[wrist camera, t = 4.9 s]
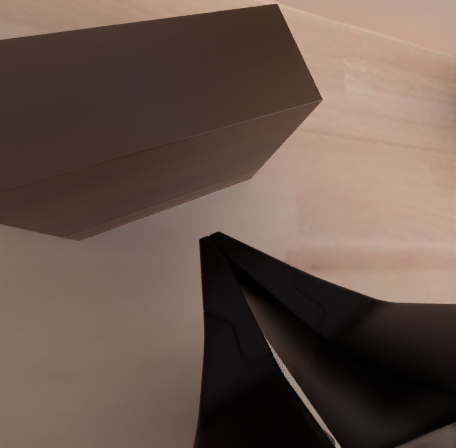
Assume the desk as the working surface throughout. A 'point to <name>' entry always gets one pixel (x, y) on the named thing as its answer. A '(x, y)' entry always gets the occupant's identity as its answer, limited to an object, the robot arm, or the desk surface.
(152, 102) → the walnut bookend
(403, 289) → the desk surface
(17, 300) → the desk surface
